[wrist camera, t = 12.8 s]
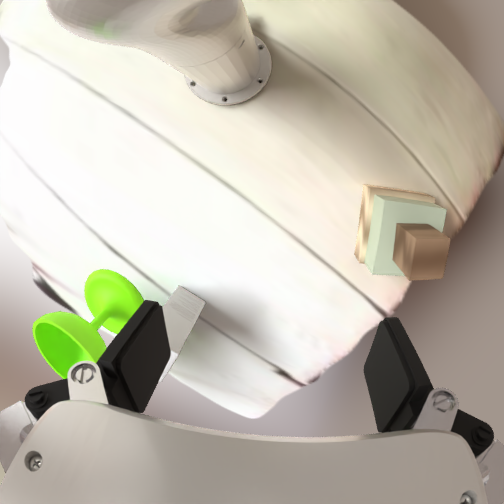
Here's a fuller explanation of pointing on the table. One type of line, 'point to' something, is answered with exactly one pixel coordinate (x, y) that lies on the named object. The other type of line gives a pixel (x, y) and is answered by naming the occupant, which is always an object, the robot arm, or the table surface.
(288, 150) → the table surface
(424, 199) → the block bottom
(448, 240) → the walnut block
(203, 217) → the table surface
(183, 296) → the skincare box
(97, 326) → the wineglass
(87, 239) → the table surface
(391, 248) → the block top
